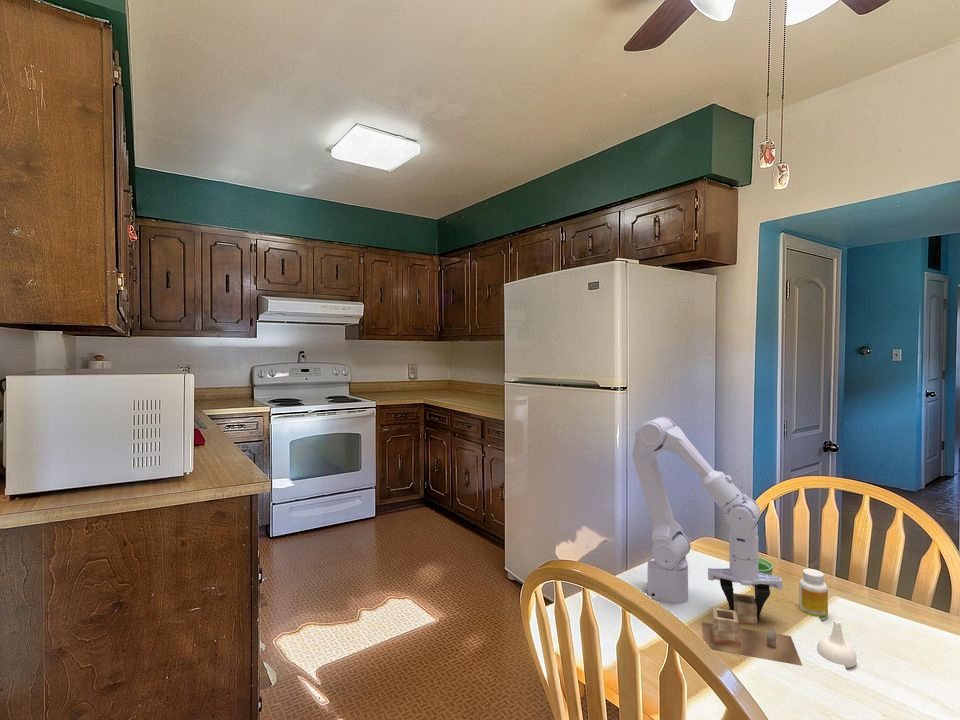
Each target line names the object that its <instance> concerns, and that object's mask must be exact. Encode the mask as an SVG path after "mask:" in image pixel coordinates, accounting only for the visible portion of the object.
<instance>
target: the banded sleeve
mask: <svg viewBox="0 0 960 720" xmlns="http://www.w3.org/2000/svg"><path fill="white" fill-rule="evenodd" d="M733 607H734V611H736V614H737V618H738V623H743V624H747V625H754V626H757V625H759V622H758V621H759V620H758V619H757V605H756V602H755V595H749V594H743V593H734V592H733Z"/></svg>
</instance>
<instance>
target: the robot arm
mask: <svg viewBox="0 0 960 720" xmlns="http://www.w3.org/2000/svg"><path fill="white" fill-rule="evenodd" d="M634 437H635V440H634V445H633V449H632V454H631V455H632V460H633V463H634V466H635V469H636V472H637V473H636V474H637V476H638V480H639V483H640V486H641V490H642V493H643V498H644V500H645V503H646V507H647V510H648V513H649V516H650V520H651V523H652V531H651V541H652V550H651V552H652V558H653V560H652V559H651V560H647V583H646V592H647V596H648V595H649V596H650V597H651V598H652V599H651V600H655V601H656V600H657V601H662V602H665V603H669V604H674V605H677V604H678V605H679V604H684V603H686V602H688V600H689V562H688V560H687V555H688V554H689V553H690V551H691V547H692V546H691V541H690V539H689V538H688V536H686V534H685V533H684V531H683V528H682V525H680V524H679V522H677V521H676V519H675V516H674V512H673V509H672V507H671V506H672V505H671V504H670V499H669V497H668V494H667V490H666V486H665V483H664V480H663V477H662V473H661V469H660V467H659V463H658V461H657V456H658V455H659V453H660V452H661V451H664V452H670V453H674V454H676V455H677V456H678V457H679V458H680V459H682V460H683V462H684V463H685V464H687V466H688V467H689V468H690V469H691V470H693V472H694V473H695V474H696V475H697V476H698V477H699V478H700V479H701V488H702V489H703V490H704V492H706V493H707V495H708V496H709V497H710V498H711V499H712V500H713V501H714V502H715V503H716V505H717V506H718V507H719V509H720V510H722V511H723V512H724V513H725V520H726V522H727V524H728V525H729V533H728V538H729V546H728V547H729V551H728V552H729V554H728V556H729V559H728V560H729V568H728V567H726V568H709V567H707V579H708V581H715V580H716V581H719V584H720V587H721V590H722V592H723V594H724V595H725V598H726V601H727V604H728V610H732V611H734V607H733V593H734V588H733V583H740V585H742V586H749V587H751V586H752V584H753V586H754V598H755V602H756V605H757V620H760V617H761V613H762V610H763V607H764V605H765V603H766V601H767V600H768V598H770V595H771V589H770V588H776V589H777V590H783V580H782V578H781V577H780V576H776V575H775V576H774V575H772V576H771V575H767V574H763V573H759V572H758V557H759V534H758V532H759V530H758V529H759V527H758V523H757V522H758V520H760V517H761V509H760V507H759V505H758V504H757V502H756V501H755V500H754V499H752V498H751V497H748V496H747V494H746V493H744V494H743V493H742V492H741V491H740V489H739V488H738V487H737V486H736V485H735V484H734V483H733V482H732V480H733V477H731V476H730V475H729V474H727V475H726V474H725V473H724V472H723V471H719V470H714V469H713V468H712V467H711V465H710V464H709V463H708V461H707V460H706V459H705V458H704V457H703V455H702V454H701V453H700V452H699V450H697V448H696V447H695V446H694V445H693V444H692V442H691V441H690V440H689V438H687V436H686V434H685V433H684V432H683V430H682V428H681V427H679V426H678V425H676V424H675V422H674V421H673V419H671V418H669V417H667V416H658V417H655V418H654V419H651V420H648V421H645V422H643V423H641V424H640V426H638V428H637V429H636V430H635V432H634ZM653 594H654V595H653Z"/></svg>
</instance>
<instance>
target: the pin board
mask: <svg viewBox="0 0 960 720" xmlns="http://www.w3.org/2000/svg"><path fill="white" fill-rule="evenodd" d="M711 625H712V626H713V623H710V622H705V621H701V629H702V630H701V631H702V641H703V640H704V641H705V642H706V644H708V646H709V647H710V648H711V649H712V650H711V651H717V652H722V653H728V654H733V655H738V656H745V657H750V658H756V659H761V660H762V659H763V660H768V661H773V662H778V663H779V662H780V663H784V664H791V665H795V666H803V664H802V662H801V658H800V656H799V654H798V651H797V648H796V645H795V643H794V641H793V638H792V636H791V635H785V634H779V633H777V631H776V630H774V629H771V628H769V629H767V630H766V631H762V630H761V631H760V630H755V629H747V628H742V627H738V629H739V638H740V647H734V646H729V645H723V644H717V643H713V638H712V631H711ZM704 641H703V642H704Z"/></svg>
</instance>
